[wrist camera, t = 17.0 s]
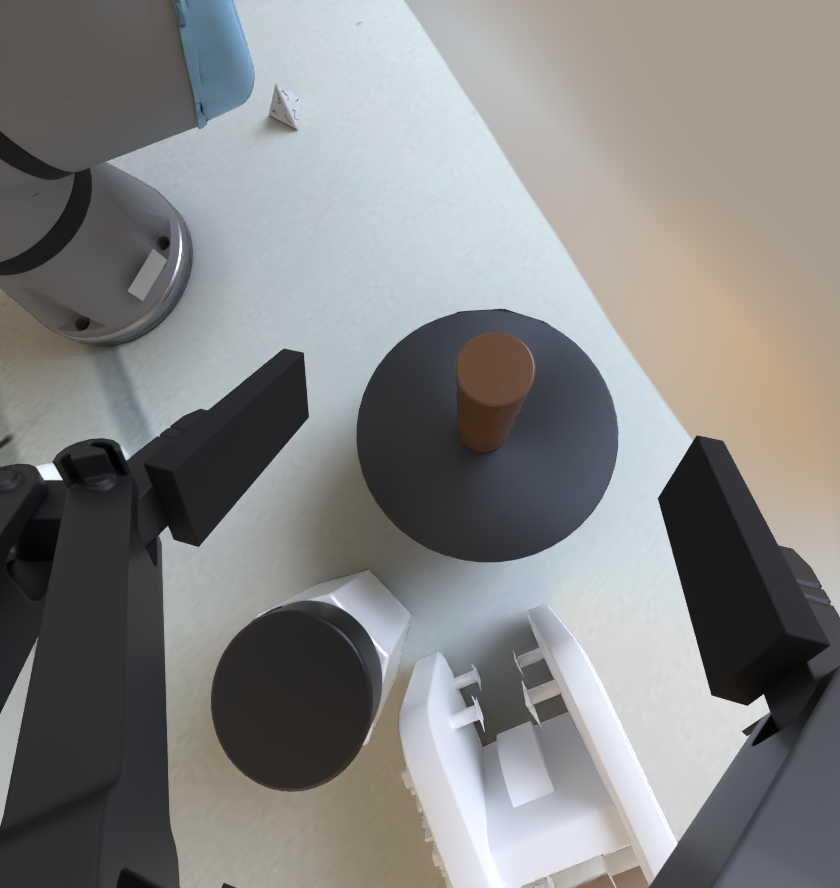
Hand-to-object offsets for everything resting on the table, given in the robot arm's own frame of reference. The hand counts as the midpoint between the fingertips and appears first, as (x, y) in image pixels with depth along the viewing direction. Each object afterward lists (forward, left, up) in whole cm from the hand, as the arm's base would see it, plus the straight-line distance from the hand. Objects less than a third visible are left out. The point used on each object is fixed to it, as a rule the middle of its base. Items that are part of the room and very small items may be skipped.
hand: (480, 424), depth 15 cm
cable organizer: (+15, -11, -19) cm, 26 cm away
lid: (-1, +1, -10) cm, 10 cm away
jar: (+2, -15, -19) cm, 24 cm away
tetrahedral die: (-35, +12, -19) cm, 42 cm away
